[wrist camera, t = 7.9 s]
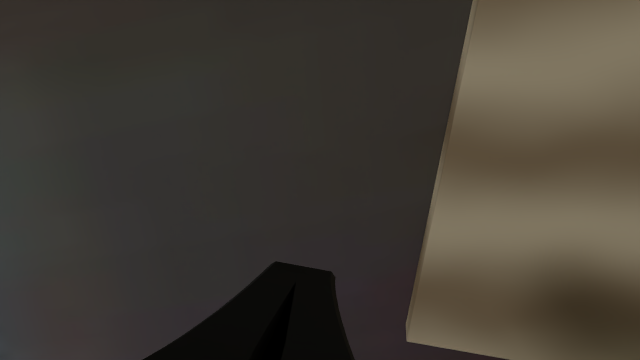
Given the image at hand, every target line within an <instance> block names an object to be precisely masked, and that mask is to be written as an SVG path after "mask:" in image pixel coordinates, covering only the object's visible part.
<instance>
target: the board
mask: <svg viewBox="0 0 640 360" xmlns="http://www.w3.org/2000/svg"><path fill="white" fill-rule="evenodd" d="M406 337H407V341H408V342H414V343H419V344H425V345H431V346H436V347H442V348H448V349H453V350H459V351H465V352H470V353H476V354H482V355H487V356H493V357H499V358H504V359H510V360H640V0H473V3H472V8H471V12H470V17H469V22H468V27H467V32H466V37H465V41H464V46H463V51H462V56H461V61H460V66H459V70H458V75H457V80H456V85H455V90H454V94H453V99H452V104H451V109H450V114H449V119H448V123H447V128H446V133H445V138H444V143H443V148H442V152H441V157H440V162H439V167H438V172H437V177H436V181H435V186H434V191H433V196H432V201H431V206H430V210H429V215H428V220H427V225H426V230H425V235H424V239H423V244H422V249H421V254H420V259H419V263H418V268H417V273H416V278H415V283H414V288H413V292H412V297H411V302H410V307H409V312H408V317H407V321H406Z"/></svg>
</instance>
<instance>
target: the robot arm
mask: <svg viewBox="0 0 640 360" xmlns="http://www.w3.org/2000/svg"><path fill="white" fill-rule="evenodd" d="M143 360H355V359H354V357H353V354H352V351H351V348H350V346H349V343H348V340H347V337H346V333H345V330H344V327H343V323H342V320H341V316H340V312H339V308H338V303H337V298H336V290H335V276H334V275H333V273H332V272H331V271H325V270H320V269H314V268H309V267H304V266H298V265H293V264H287V263H282V262H274V263H272V264H271V265H270V266H269V267H268V268H266V269H265V270H264V271H263V272H262V273H261V274H260V275H259V276H258V277H257V278H256V279H255V280H253V281H252V282H251V283H250V284H249V285H248V286H247V287H246V288H244V289H243V290H242V291H241V292H240V293H238V294H237V295H236V296H235V297H234V298H232V299H231V300H230V301H229V302H227V303H226V304H225V305H224V306H223V307H221V308H220V309H219V310H217V311H216V312H215V313H213V314H212V315H211V316H209V317H208V318H206V319H205V320H204V321H202V322H201V323H200V324H198V325H197V326H195V327H194V328H193V329H191V330H190V331H188V332H187V333H185V334H184V335H182V336H181V337H179V338H178V339H176V340H175V341H173V342H172V343H170V344H168V345H167V346H165V347H164V348H162V349H160V350H158V351H157V352H155V353H153V354H152V355H150V356H148V357H146V358H145V359H143Z"/></svg>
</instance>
